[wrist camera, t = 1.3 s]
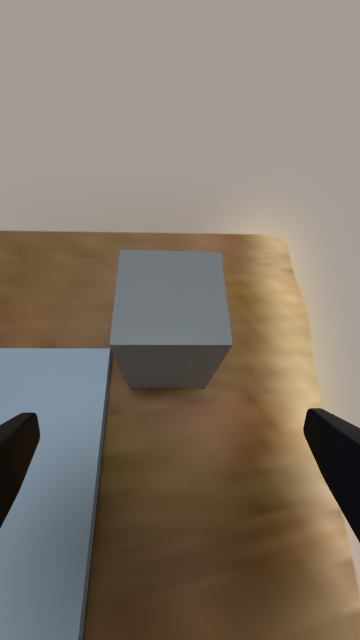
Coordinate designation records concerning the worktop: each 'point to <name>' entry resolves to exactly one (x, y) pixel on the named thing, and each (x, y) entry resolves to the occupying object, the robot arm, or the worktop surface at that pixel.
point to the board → (52, 490)
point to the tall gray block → (170, 318)
